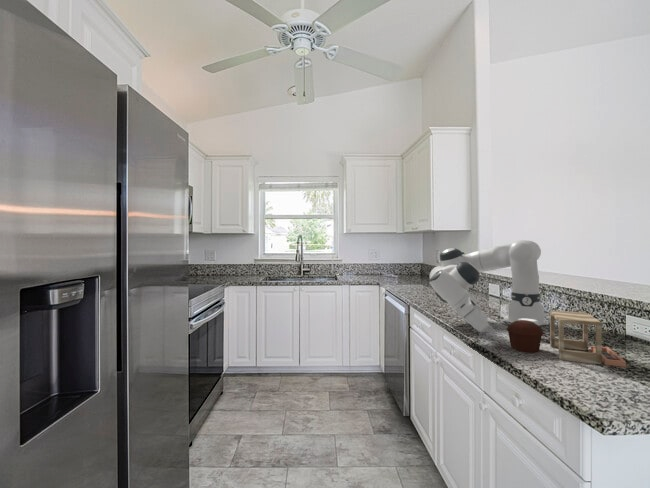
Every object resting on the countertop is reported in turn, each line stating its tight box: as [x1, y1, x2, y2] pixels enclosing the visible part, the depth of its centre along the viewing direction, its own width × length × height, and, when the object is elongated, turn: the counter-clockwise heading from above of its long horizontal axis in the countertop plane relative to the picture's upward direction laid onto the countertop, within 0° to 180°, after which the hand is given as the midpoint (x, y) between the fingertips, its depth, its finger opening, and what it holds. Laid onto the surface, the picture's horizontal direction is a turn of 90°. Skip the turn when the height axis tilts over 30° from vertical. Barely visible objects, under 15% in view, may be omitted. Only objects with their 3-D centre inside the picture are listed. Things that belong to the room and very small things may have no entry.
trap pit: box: [590, 345, 627, 368], centre depth 114 cm, size 16×5×2 cm, turn 156°
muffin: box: [506, 320, 545, 354], centre depth 123 cm, size 12×11×10 cm
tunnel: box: [549, 309, 603, 365], centre depth 117 cm, size 16×11×13 cm
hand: (494, 334), depth 127 cm, fingers closed
